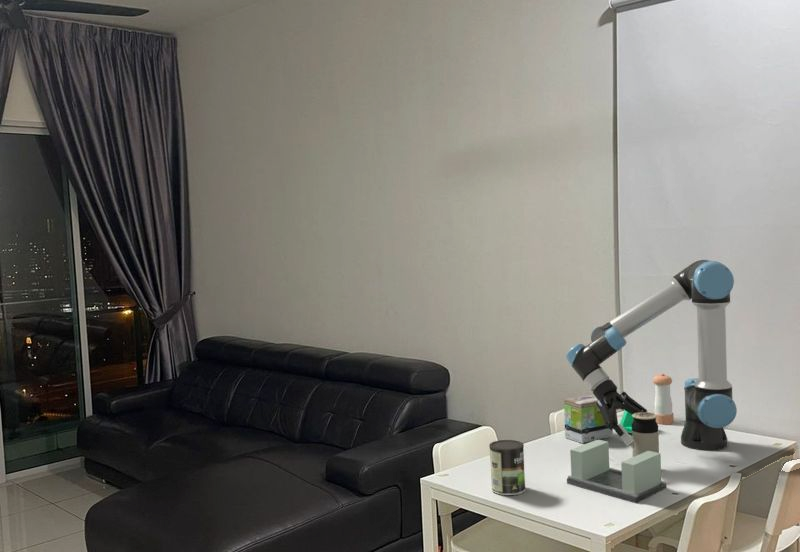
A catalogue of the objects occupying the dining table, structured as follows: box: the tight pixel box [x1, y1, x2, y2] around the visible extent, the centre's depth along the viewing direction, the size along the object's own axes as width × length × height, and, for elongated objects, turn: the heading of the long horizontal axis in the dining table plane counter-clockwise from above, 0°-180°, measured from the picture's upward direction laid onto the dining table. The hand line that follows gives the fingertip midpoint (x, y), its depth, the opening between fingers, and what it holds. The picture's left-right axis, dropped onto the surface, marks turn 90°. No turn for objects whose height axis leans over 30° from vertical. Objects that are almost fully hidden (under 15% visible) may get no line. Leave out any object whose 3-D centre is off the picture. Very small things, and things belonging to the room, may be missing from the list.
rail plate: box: [566, 466, 667, 504], centre depth 222 cm, size 24×16×2 cm, turn 40°
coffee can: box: [488, 439, 526, 496], centre depth 223 cm, size 10×10×14 cm
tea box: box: [563, 393, 614, 444], centre depth 272 cm, size 15×10×15 cm, turn 118°
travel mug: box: [631, 411, 660, 457], centre depth 233 cm, size 8×8×18 cm
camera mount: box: [619, 410, 634, 434], centre depth 276 cm, size 12×8×10 cm, turn 123°
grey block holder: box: [569, 439, 662, 494], centre depth 221 cm, size 22×14×9 cm, turn 40°
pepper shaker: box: [652, 372, 675, 425], centre depth 286 cm, size 7×7×19 cm
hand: (642, 438), depth 233 cm, fingers open, 13 cm apart
